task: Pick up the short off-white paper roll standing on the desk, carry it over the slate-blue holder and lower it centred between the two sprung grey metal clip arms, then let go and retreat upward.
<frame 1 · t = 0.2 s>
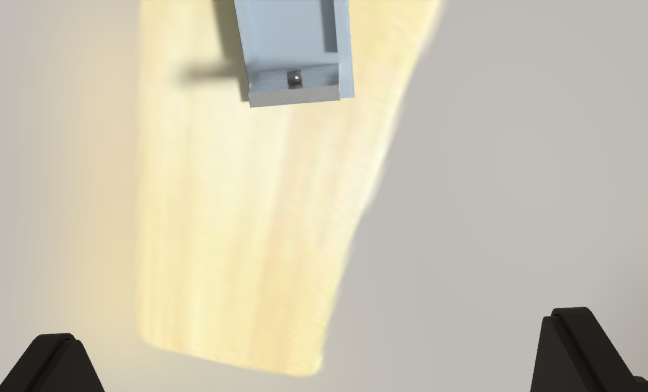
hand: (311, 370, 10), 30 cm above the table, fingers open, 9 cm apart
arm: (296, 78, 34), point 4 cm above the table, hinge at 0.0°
holder: (293, 11, 35), on the table
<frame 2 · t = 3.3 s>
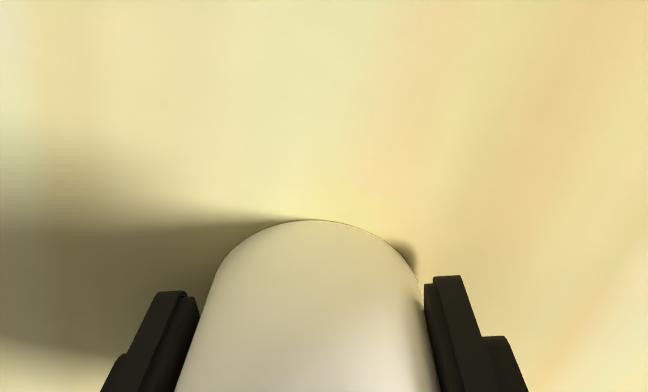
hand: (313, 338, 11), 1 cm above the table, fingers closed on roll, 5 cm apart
roll: (315, 308, 12), on the table, touching gripper
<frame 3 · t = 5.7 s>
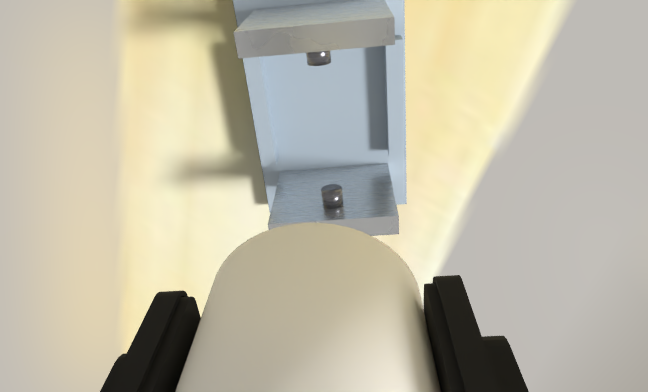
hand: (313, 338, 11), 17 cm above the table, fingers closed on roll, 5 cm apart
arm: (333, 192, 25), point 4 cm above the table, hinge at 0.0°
holder: (328, 95, 26), on the table
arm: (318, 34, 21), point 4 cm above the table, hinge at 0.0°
roll: (315, 310, 12), point 17 cm above the table, touching gripper
when the fingers open (4 cm above the table, at t = 8.5 s): roll drops 2 cm, resting on holder.
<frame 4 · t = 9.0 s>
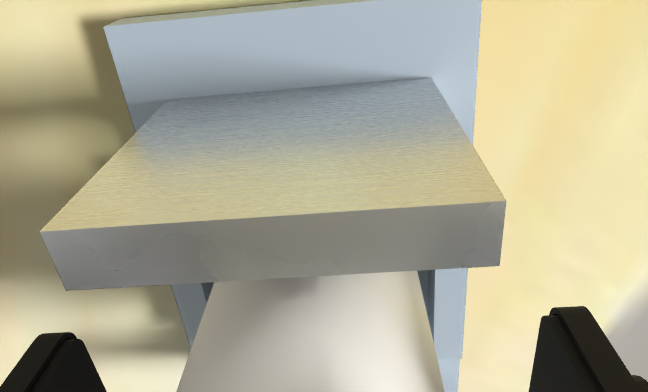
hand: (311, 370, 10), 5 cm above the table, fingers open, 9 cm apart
holder: (319, 238, 14), on the table
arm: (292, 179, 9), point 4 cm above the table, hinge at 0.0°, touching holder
roll: (319, 258, 13), point 1 cm above the table, touching holder
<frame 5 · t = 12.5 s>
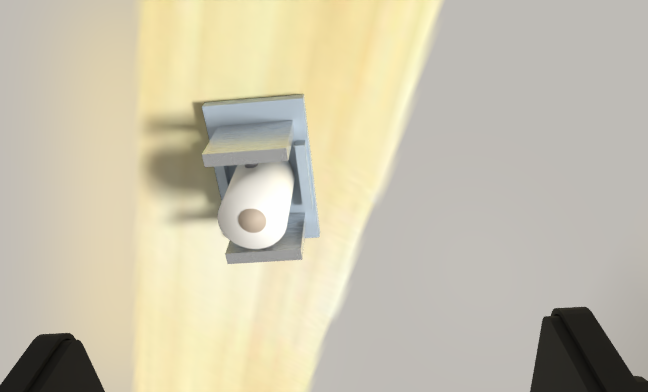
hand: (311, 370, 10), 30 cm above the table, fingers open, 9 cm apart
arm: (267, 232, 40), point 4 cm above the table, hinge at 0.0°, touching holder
holder: (266, 171, 42), on the table
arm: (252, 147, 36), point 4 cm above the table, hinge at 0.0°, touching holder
roll: (265, 176, 41), point 1 cm above the table, touching holder
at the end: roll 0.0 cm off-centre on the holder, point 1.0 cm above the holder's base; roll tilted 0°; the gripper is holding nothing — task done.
